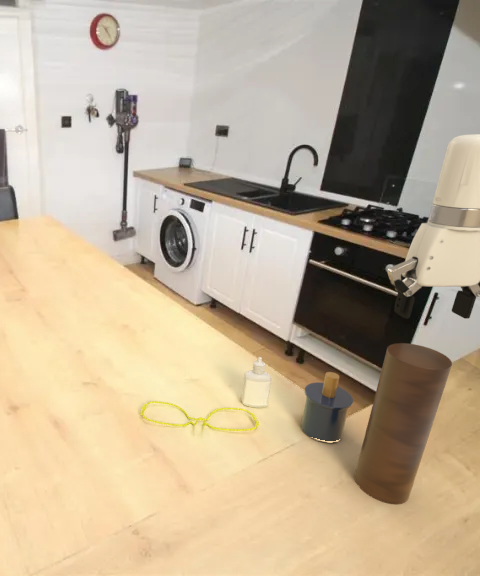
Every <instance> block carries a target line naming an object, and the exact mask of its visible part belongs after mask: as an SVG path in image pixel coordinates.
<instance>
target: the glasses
mask: <svg viewBox="0 0 480 576" xmlns="http://www.w3.org/2000/svg"><path fill="white" fill-rule="evenodd" d="M150 404H161V405H168V406H173V407H175V408H178V409H179V410H180V411H182V412H183V413H184V415H185V416H186V418H187V419H190V420H193V421H188V422H186V423H183V424H182V423H181V424H179V423H170V422H163V421H157V420H153V419H150V418H148V417H147V416H145V411H146V408H147V407H148V405H150ZM223 410H225V411H226V410H231V411H232V410H233V411H234V410H235V411H244V412H246V413H248V414H249V415H250V416H251V418H252V419H253V420H254V423H255V426H254V427H251V428H224V427H223V428H222V427H216V426H213V425H210V424H209V423H208V422H206V421H209V420H210V417H211V416H212V415H213V414H214V413H216V412H219V411H223ZM139 413H140V416H142V417H143V419H144V420H146V421H148V422H152V423H156V424H159V425H165V426H173V427H186V426H188V425H190V424H192V425H193V426H194V427H195V426H196V425H197V424H198V423H199V421H203V423H202V427H206V426H207V427H209V428H211V429H214V430H218V431H227V432H245V431H253V430H255V429H257V428H258V426H260V422H259V420H258V417H257V416H256V415H255V414H254V413H253V412H250V411H249V410H248V409H245V408H240V407H220V408H216V409H214V410H212V411H211V412H210V413H209V414H208V416H207V417H206V418H203V417H201V416H200V417H198V418H197V417H191V416H189V414H188V413H187V412H186V410H185V409H183V408H182V407H181V406H179V405H176V404H174V403H171V402H165V401H155V400H153V401H152V400H151V401H148V402H147V403H144V404H143V405H142V407H141V410H140V412H139ZM194 421H195V422H194Z"/></svg>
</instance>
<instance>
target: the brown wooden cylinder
mask: <svg viewBox="0 0 480 576" xmlns="http://www.w3.org/2000/svg"><path fill="white" fill-rule="evenodd" d="M452 366H453V361H452V360H451V359H450V358H449V356H447V355H446V354H444V353H443V352H440V351H438V350H436V349H433V348H431V347H427V346H424V345H419V344H414V343H408V342H407V343H405V342H399V343H397V342H396V343H393V344H392V343H391V344H390V345H388V346H387V347H386V352H385V355H384V360H383V363H382V367H381V371H380V375H379V378H378V383H377V385H376V386H377V387H376V390H375V394H374V398H373V402H372V405H371V410H370V414H369V417H368V422H367V425H366V429H365V434H364V436H363V441H362V445H361V449H360V453H359V457H358V461H357V464H356V469H355V472H354V481H355V480H356V481H355V482H357V483H356V485H357V486H358V485H359V486H360V487H359V486H358V487H359V488H360V490H362V491H363V492H364V493H365V492H366V493H365V494H367V495H368V494H369V495H368V496H369V497H371V496H372V497H371V498H373V499H375V500H377V501H380V502H382V503H386V504H390V505H402V504H404V503H406V502H407V501H408V500H409V499H410V495H411V492H412V489H413V486H414V483H415V480H416V477H417V473H418V470H419V468H420V465H421V462H422V458H423V455H424V452H425V449H426V447H427V444H428V441H429V440H428V439H429V437H430V433H431V430H432V428H433V424H434V421H435V419H436V415H437V412H438V409H439V406H440V403H441V400H442V397H443V394H444V391H445V388H446V385H447V382H448V377H449V375H450V372H451V369H452Z"/></svg>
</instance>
